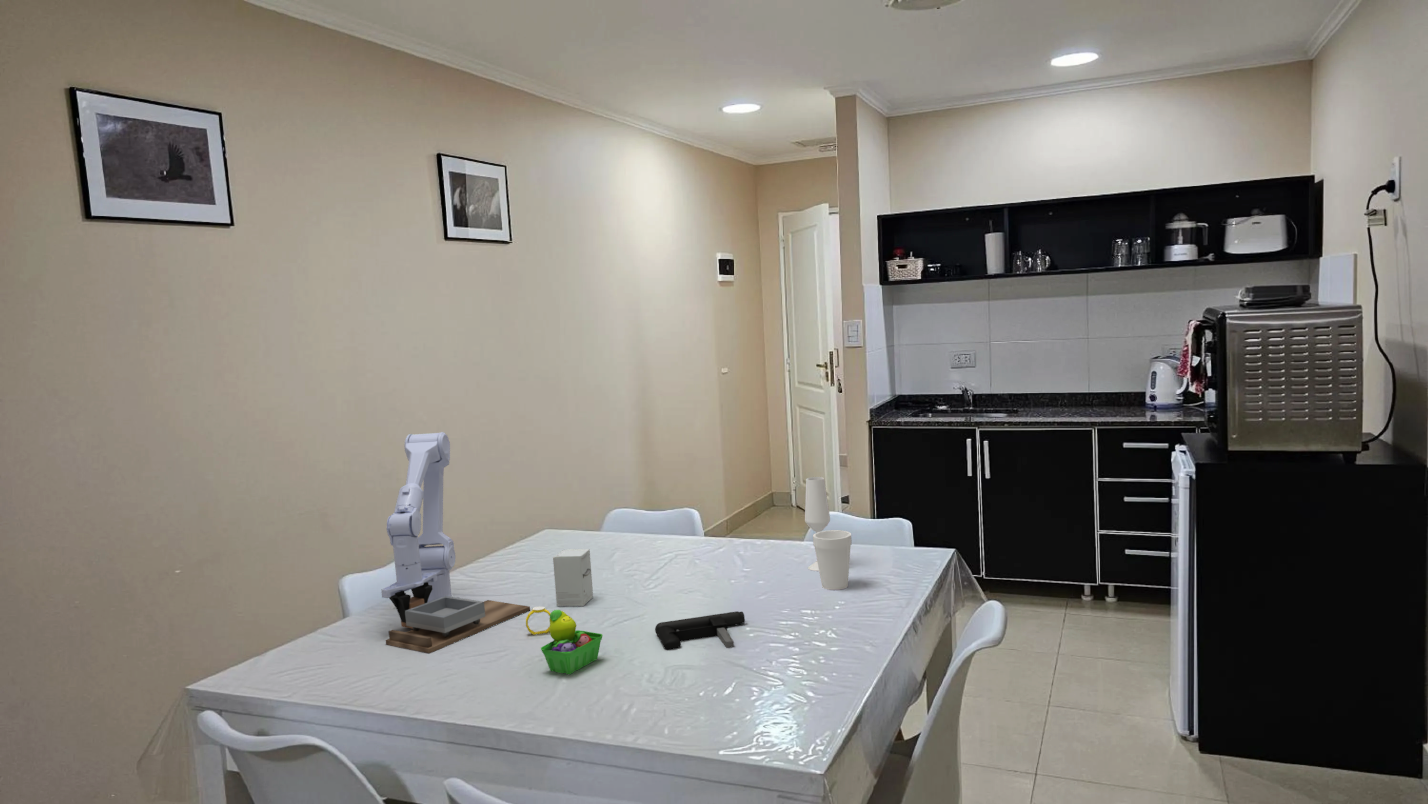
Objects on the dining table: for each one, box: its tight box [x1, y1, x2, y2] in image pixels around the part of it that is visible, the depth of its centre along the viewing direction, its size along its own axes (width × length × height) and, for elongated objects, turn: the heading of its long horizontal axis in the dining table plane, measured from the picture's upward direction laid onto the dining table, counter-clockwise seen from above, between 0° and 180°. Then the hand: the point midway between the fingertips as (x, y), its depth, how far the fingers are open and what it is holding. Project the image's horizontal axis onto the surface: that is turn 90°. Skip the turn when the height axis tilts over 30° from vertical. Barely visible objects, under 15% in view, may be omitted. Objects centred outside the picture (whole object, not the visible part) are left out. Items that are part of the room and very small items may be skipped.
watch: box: [525, 606, 551, 636], centre depth 210 cm, size 6×3×6 cm, turn 104°
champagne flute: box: [804, 476, 831, 572], centre depth 247 cm, size 7×7×24 cm
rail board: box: [385, 599, 531, 654], centre depth 219 cm, size 14×31×3 cm, turn 147°
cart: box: [405, 596, 485, 637], centre depth 215 cm, size 13×12×5 cm
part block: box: [400, 596, 424, 630], centre depth 220 cm, size 4×4×6 cm
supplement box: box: [552, 548, 594, 607], centre depth 232 cm, size 7×7×13 cm
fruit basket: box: [540, 609, 603, 675], centre depth 189 cm, size 11×9×11 cm
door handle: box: [654, 610, 746, 651], centre depth 200 cm, size 3×20×16 cm
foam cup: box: [812, 529, 852, 591], centre depth 230 cm, size 10×9×13 cm
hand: (413, 618), depth 220 cm, fingers closed on part block, 4 cm apart
